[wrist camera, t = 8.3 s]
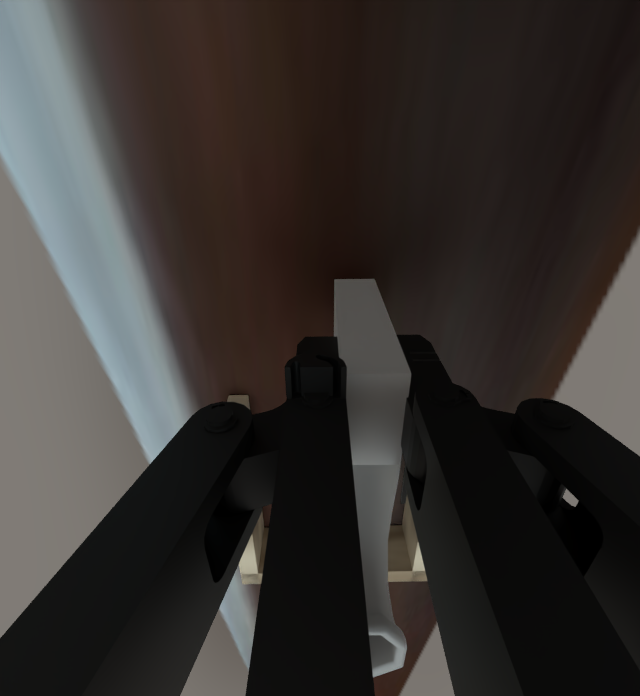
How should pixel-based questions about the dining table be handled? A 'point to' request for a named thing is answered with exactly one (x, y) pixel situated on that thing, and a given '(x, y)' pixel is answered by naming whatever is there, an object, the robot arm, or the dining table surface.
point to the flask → (378, 562)
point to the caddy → (401, 544)
